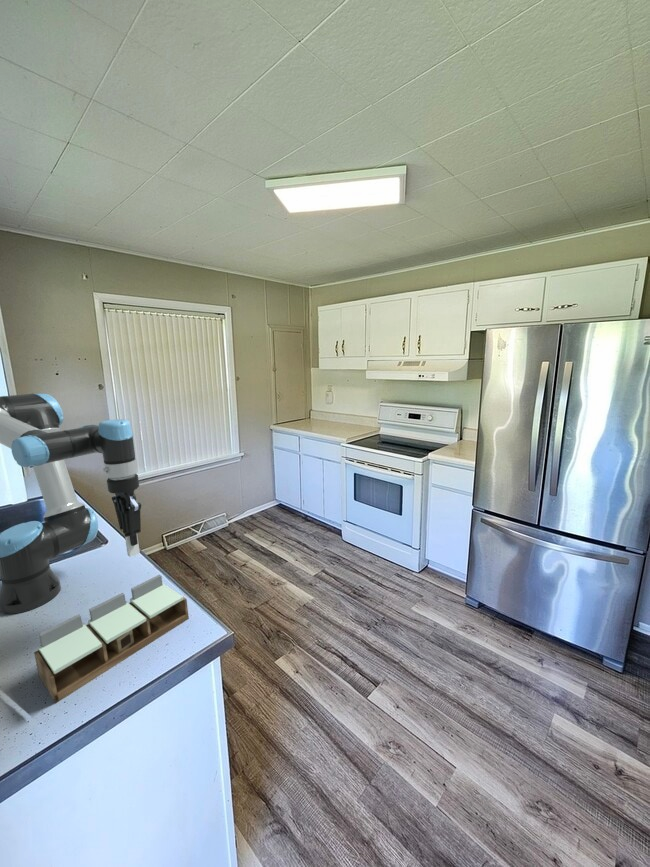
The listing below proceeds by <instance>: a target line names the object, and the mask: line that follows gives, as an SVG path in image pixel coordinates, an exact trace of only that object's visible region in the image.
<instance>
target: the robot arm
mask: <svg viewBox="0 0 650 867" xmlns="http://www.w3.org/2000/svg"><path fill="white" fill-rule="evenodd" d="M63 422H64V412H63V409H62V406H60V403H59V402H58V400H57V399H56V398H54V397H53V396H52V395H51V394H48V393H27V394H14V395H1V396H0V444H1V445H3V446H5V447H7V448H9V449H10V450H11V454H12V457H13V459H14V462H16V464H17V465H19V467H20V468H22V467H23V468H30V467H32V469H33V472H34V474H35V479H36V481H37V484H38V487H39V490H40V493H41V496H42V499H43V501H44V505H45V508H46V511H45V513H44V515H43V516H42V517H43V520H44V522H43V523H41V521H37V520H31V521H27V522H22V523H19V524H16V525H12V526H11V527H9V528H7V529H5V530H3V531H2V532H1V533H0V580H1V587H0V612H1V613H3V614H6V613H7V614H8V615H12V614H13V615H14V614H21V613H24V612H28V611H31V610H33V609H34V610H35V609H36V608H38V607H41V606H42V605H43V606H44V605H45V604H47V603H48V602H50V601H51V600H53V599H54V598H56V597H57V596H58V595H59V593H60V592H61V590H62V587H61V586H62V585H61V581H60V579H59V578H58V576H57V575H56V573H54V571H53V570H52V568H51V564H50V559H53V558H56V557H59V556H60V555H62V554H65V553H67V552H69V551H73V550H74V549H77V548H79V547H83V546H85V545H86V544H89V543H91V542H92V541H94V539H95V538H96V537H97V534H98V530H99V520H98V517H97V515H96V513H95V511H94V510H93V509H92V508H90V507H86V505H85V503H83V502H81V501H79V500H78V499H77V494H76V492H75V488H74V486H73V482H72V479H71V476H70V474H69V471H68V467H67V464H66V461H65V460H67V459H72V458H78V457H81V456H82V457H83V456H86V455H91V454H101V455H102V458H103V464H104V467H103V468H102V470H103V472H105V475H106V478H107V479H106V486H107V490H108V492H109V493H110V494H114V496H112V497H111V500H112V502H113V506H114V510H115V514H116V518H117V521H118V526H119V529H120V531H122V532H123V535H124V538H125V540H124V541H125V547H126V552H127V553H126V554H127V556H128V557H129V558H132V557H133V556H136V555H138V554H140V545H139V539H138V538H139V537H138V534H140V533H141V531H142V528H141V509H142V503H141V502H137V495H136V493H135V491H136V490H137V489H138V488H139V487H140V481H139V475H138V474H137V473H138V465H137V458H136V453H135V451H136V450H135V445H134V444H135V442H134V438H133V437H134V436H133V435H134V434H133V431H132V427H131V422H130V421H129V419H128V420H127V419H119V418H118V419H108V420H102V421H100V422H99V423H98V424H97V425H96V424H86V425H82V426H79V427H77V428H73V429H65V430H64V429H63V430H61V428H60V426H61V425H62V424H63ZM7 614H6V615H7Z"/></svg>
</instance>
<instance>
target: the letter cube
mask: <svg viewBox="0 0 650 867" xmlns="http://www.w3.org/2000/svg"><path fill="white" fill-rule="evenodd" d="M133 643H134V638H133V631H132V630H130V631H128V632H126V633H125V634H123V635H121V636H120V637H118V638H116V639H114V640H113V641H111V642H109V648H110V649H112V650H114V651H115V652H117V653H121V652H122V651H123V650H125V649H126V648H127V647H129V646H130V645H131V644H133Z"/></svg>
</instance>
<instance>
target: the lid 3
mask: <svg viewBox="0 0 650 867" xmlns="http://www.w3.org/2000/svg"><path fill="white" fill-rule="evenodd" d="M172 589H173V588H171V587H169V586H168V585H167V584H165V583H164V582H163V576H162V575H161V574H157V575H155V576H153V577H152V578H149V579H147V580H145V581H143V582H141V583H139V584H137V585H136V586H133V587H131V589H130V590H131V591H130V592H131V598H130V599H129V603H130V602H131V603H132V604H134V605H135V606H136V607H137V608H138V609H140V610H141V611H142V612H143V613H144V614H145V615H147V616H148V617H149V618H150V619H151V618H152V617H154V616H156V615H157V614H159V613H161V612H163V611H164V610H166V609H168V608H170V607H171V606H173V605H175V604H176V603H178V602H180V601H182V600H183V597H184V596H183V595H182V594H180V593H178V592H177V591H176V592H175V590H174V589H173V590H172Z"/></svg>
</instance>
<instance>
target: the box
mask: <svg viewBox="0 0 650 867" xmlns="http://www.w3.org/2000/svg"><path fill="white" fill-rule="evenodd" d="M171 589H172V590H174V589H173V588H171ZM174 591H175V590H174ZM175 592H177V591H175ZM128 603H129V604H130V605H131V606H132V607H134V608H135V609H136V610H137V611H138V612H139V613H141V614H142V615H143V616H144V617H145V618H146V621H145V622H144V623H142V624H140V625H139V626H137V627H135V628H133V629H132V631H133V638H134V643H133V644H131V645H130V646H129V647H127V648H126V649H125V650H123V651H122V652H121V653H117V652H115V651H114V650H112V649H110V648H109V643H108V644H107V643H106V642H105V641H104V640H103V639H102V638H101V637H100V636H99V634H98V633H97V632H96V631H95V630H94V629H93V628H92V627H91V626H90V625H89V624H88V623H87V624H85V625H86V626H87V628H88V629H89V630H90V631H91V632H92V633H93V634H94V635H95V636H96V638H97V639H98V640H99V641H100V642H101V643H102V647H101V648H99V649H97V650H95V651H94V652H92V653H90V654H89V655H87V656H85V657H83V658H82V659H80V660H78V661H77V662H75V663H73V664H71V665H70V666H68V667H66V668H65V669H63V670H61V671H59V672H58V673H56V674H54V673H53V671H52V670H51V668H50V667H49V665H48V664H47V662H46V660H45V659H44V657H43V656H42V654H41V653H40V651H39V650H36V651H34V652H33V653H34V659H35V663H36V668H37V674H38V676H39V678H40V679H41V681H42V683H43V685H44V686H45V688H46V690H47V692H48V694H49V695H50V697H51V698H52V700H53V702H54V703H55V704H57V703H59V702H60V701H62V700H63V699H65V698H67V697H68V696H70V695H72V694H73V693H75V692H76V691H78V690H80V689H81V688H82V687H84V686H85V685H87V684H89V683H90V682H92V681H93V680H95V679H96V678H98V677H100V676H101V675H102V674H104V673H106V672H107V671H109V670H111V669H113V668H114V667H115V666H117V665H119V664H120V663H121V662H124V661H125V660H127V659H128V658H129V657H131V656H133V655H134V654H136V653H137V652H139V651H141V650H142V649H144V648H145V647H147V646H148V645H150V644H152V643H153V642H154V641H156V640H158V639H159V638H161V637H162V636H164V635H166V634H167V633H169V632H170V631H171V630H173V629H175V628H177V627H178V626H180V625H182V624H183V623H185V622H186V621H188V620H189V619H190V618H189V617H190V616H189V607H188V600H187V598H186V597H184V596H183V600H182V601H180V602H178V603H176V604H175V605H173V606H171V607H170V608H168V609H166V610H164V611H163V612H161V613H159V614H157V615H156V616H154V617H152V618H151V619H150V618H149V617H148V616H147V615H145V614H144V613H143V612H142V611H141V610H140V609H138V608H137V607H136V606H135V605H134V604H132V603H131V602H130V601H129V602H128Z"/></svg>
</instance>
